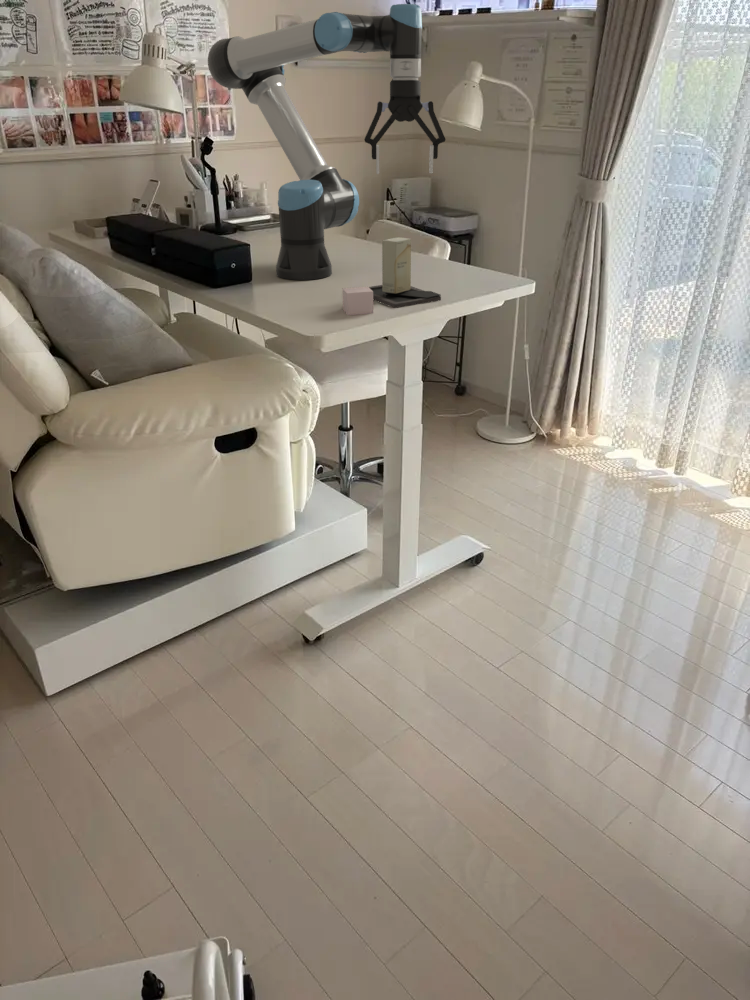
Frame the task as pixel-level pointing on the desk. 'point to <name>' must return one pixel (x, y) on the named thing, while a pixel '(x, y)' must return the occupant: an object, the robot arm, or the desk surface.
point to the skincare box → (396, 265)
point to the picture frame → (404, 297)
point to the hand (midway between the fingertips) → (404, 173)
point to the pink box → (357, 300)
